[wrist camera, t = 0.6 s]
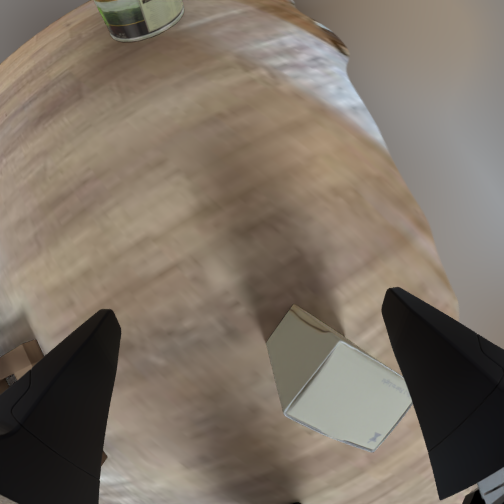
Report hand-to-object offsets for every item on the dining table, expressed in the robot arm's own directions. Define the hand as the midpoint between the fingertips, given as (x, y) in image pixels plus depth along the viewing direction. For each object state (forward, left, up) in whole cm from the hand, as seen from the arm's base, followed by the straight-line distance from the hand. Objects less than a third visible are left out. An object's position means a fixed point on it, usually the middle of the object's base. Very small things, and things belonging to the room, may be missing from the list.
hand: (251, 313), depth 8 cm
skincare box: (-7, -2, -15) cm, 16 cm away
